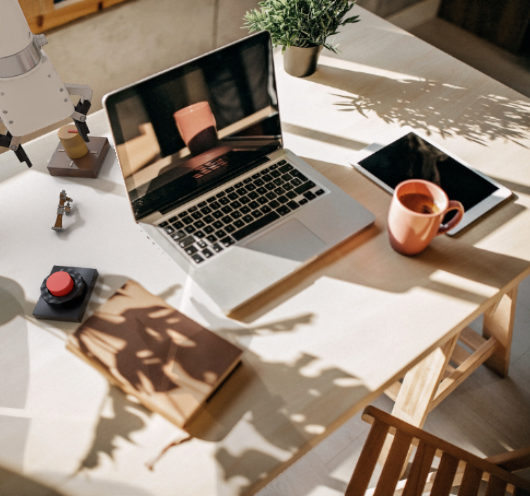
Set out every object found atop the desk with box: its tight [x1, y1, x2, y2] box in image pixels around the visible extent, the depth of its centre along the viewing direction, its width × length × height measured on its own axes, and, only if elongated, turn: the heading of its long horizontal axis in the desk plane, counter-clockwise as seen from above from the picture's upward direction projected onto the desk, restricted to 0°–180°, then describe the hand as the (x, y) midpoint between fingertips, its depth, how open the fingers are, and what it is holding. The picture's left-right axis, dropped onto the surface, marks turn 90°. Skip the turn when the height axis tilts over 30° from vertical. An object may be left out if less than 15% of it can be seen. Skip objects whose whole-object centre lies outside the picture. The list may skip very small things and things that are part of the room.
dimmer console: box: [46, 135, 111, 179], centre depth 105 cm, size 10×10×3 cm
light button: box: [46, 271, 74, 297], centre depth 83 cm, size 4×4×2 cm
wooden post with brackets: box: [50, 189, 74, 232], centre depth 96 cm, size 2×8×4 cm, turn 174°
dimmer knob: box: [56, 123, 88, 159], centre depth 102 cm, size 4×4×6 cm
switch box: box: [32, 264, 100, 324], centre depth 85 cm, size 8×10×4 cm
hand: (56, 149), depth 80 cm, fingers open, 9 cm apart
